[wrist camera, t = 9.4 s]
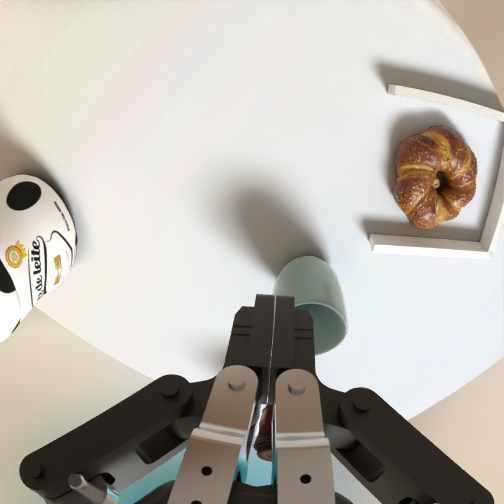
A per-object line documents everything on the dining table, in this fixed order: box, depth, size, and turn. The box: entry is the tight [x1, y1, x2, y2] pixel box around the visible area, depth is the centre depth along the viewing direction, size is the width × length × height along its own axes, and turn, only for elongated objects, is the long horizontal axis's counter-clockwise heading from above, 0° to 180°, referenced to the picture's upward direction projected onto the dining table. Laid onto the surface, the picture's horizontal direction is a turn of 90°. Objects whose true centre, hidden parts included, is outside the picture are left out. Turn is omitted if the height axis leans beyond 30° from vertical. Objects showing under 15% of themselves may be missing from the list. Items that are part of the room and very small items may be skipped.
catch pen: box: [369, 84, 504, 259], centre depth 29 cm, size 18×17×2 cm
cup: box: [272, 256, 348, 356], centre depth 35 cm, size 8×8×10 cm
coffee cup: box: [254, 389, 274, 462], centre depth 47 cm, size 9×8×13 cm
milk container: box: [0, 175, 77, 342], centre depth 32 cm, size 17×17×18 cm
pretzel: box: [393, 126, 477, 230], centre depth 29 cm, size 12×11×4 cm
